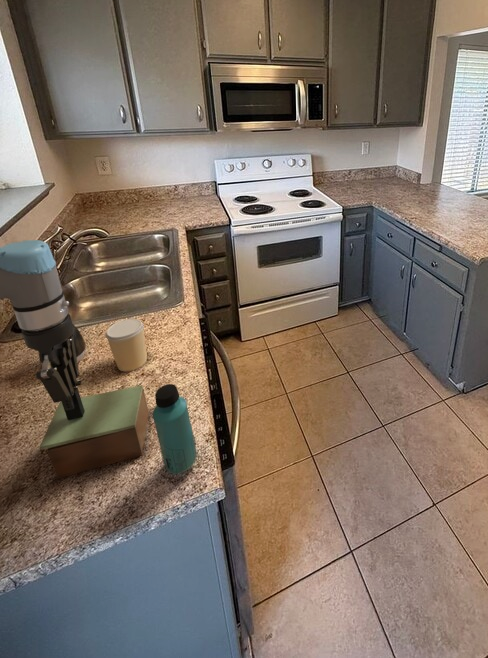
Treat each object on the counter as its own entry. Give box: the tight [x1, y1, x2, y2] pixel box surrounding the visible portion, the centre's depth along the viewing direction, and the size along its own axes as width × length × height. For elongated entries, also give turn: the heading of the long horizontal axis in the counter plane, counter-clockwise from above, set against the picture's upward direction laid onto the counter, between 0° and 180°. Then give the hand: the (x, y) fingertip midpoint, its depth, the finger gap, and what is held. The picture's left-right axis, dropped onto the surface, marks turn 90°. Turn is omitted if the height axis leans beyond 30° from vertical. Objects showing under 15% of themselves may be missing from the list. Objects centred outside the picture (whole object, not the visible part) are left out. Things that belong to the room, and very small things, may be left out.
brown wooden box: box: [46, 388, 150, 479], centre depth 78 cm, size 16×12×8 cm
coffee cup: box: [105, 318, 148, 372], centre depth 102 cm, size 9×9×12 cm
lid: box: [39, 384, 144, 451], centre depth 76 cm, size 17×12×1 cm
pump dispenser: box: [73, 323, 87, 364], centre depth 101 cm, size 10×10×15 cm
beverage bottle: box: [152, 383, 198, 475], centre depth 71 cm, size 6×7×20 cm
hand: (76, 415), depth 75 cm, fingers closed
